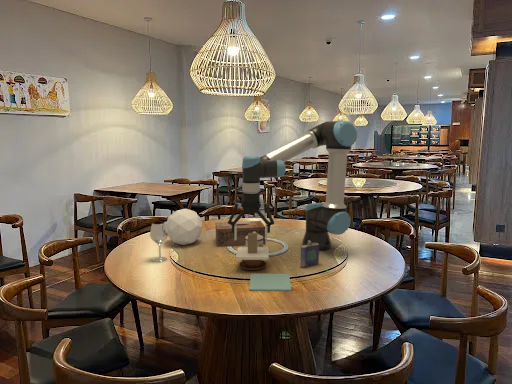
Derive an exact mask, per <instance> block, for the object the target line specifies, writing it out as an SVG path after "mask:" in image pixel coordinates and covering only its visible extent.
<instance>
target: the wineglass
mask: <svg viewBox="0 0 512 384" xmlns="http://www.w3.org/2000/svg"><path fill="white" fill-rule="evenodd" d="M149 237H150V239H151V240H152V241H153V242H154V243H156V244H157V245H158V256H157V257H155V258H153V260H152V261H153V262H155V263H163V262H166V261H167V260H168V257H165V256H162V253H161V252H162V250H161V245H162V244H163V242H165V241H166V240H167V239H168V237H169V236H168V231H167V228H166V222H165V221H153V222H152V223H151V227H150V232H149Z"/></svg>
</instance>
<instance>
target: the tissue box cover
mask: <svg viewBox="0 0 512 384" xmlns="http://www.w3.org/2000/svg"><path fill="white" fill-rule="evenodd" d="M235 225H237V239H236V240H234V233H232V225H230V224H228V221H225V222H224V221H223V222H215V241H216V246H217V248H225V247H226V248H227V247H246V239H245V237H246V236H248V233H252V232H256V233H257V234H259V235H262V236H263V238H264V239H263V246H264V245H266V225H265V223H263V221H261V220H250V221H249V220H246V221H237V223H236V224H235Z"/></svg>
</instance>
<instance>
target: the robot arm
mask: <svg viewBox="0 0 512 384" xmlns="http://www.w3.org/2000/svg"><path fill="white" fill-rule="evenodd" d="M357 137H358V131H357V129H356V127H355V126H354V123H352V122H350V121H348V120H333V121H331V120H330V121H324V122H322V123H319V124H318V125H315V126H314V127H311V128H310V129H308V130H307V131H305V133H304V134H303V135H301V136H299V137H297V138H295V139H293V140H291V141H289V142H286V143H285V144H284V145H282V146H280V147H278V148H275V149H274V150H272V151H269V152H268V153H266V154H264V155H262V156H258V155H256V156H255V155H254V156H253V155H252V156H251V155H249V156H248V155H246V156H244V157H243V158H242V163H241V165H242V166H241V168H242V169H241V171H242V182H241V183H242V187H241V188H242V189H241V190H242V196H241V199H242V202H236V203H235V205H234V209H233V211H232V213H231V214H230V217H229V219H228V221H227V222H228V224H230V225H232V233H234V240H236V239H237V225H235V224H236V223H237V222H239V220H240V219H241V218H242V217H243V216H244V215H245V214H247V215H250V214H252V215H253V214H254V215H255V214H257V215H258V216H259V217H260V218H261V220H262V222H264V224H265V242H267V241H268V234H270V232H271V226H273V225H274V224H275V221H274V219H273V217H272V215H271V212H270V210H269V208H268V204H267V202H264V203H261V202H260V201H261V198H260V197H261V194H260V191H261V188H260V187H261V186H260V185H261V179H265V178H266V179H268V178H271V179H273V178H282V177H284V176H285V174H286V169H287V168H286V167H287V166H286V164H285V163H286V162H288V161H290V160H292V159H294V158H295V157H297V156H299V155H302V154H303V153H305V152H306V151H309V150H310V149H315V150H316V149H317V148H318V147H322V146H325V149H326V150H325V151H327V152H328V163H327V165H328V166H327V177H326V178H327V179H326V181H327V182H326V190H325V191H326V193H325V195H326V196H325V202H314V203H307V205H306V206H305V231H304V235H303V239H302V242H301V246H304V245H308V242H307V241H308V240H310V241H311V243H318V244H319V251H327V250H329V249H331V248H332V241H331V238H330V234H332V235H337V236H339V235H343V234H344V233H345V232H346V231H348V229H349V228H350V225H351V222H352V221H351V216H350V214H349V213H348V212H347V208H348V207H347V205H346V204H345V191H346V174H347V162H348V154H349V152H351V150H352V146H354V144H355V142H356V141H357V139H358V138H357ZM240 207H241V208H242V210H241V212H240V213H239V214H238V215H237V217H235V215H236V213H237V211H238V209H240ZM261 207H262V209H264V211H265V214H266V215H267V217H266V216H265V215H264V214H263V213H262V212H261V210H260V209H261ZM234 217H235V219H234ZM267 218H268V219H269V220H268V219H267ZM233 219H234V220H233Z"/></svg>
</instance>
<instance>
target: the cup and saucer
mask: <svg viewBox="0 0 512 384" xmlns="http://www.w3.org/2000/svg"><path fill="white" fill-rule="evenodd" d="M239 266H240V267H241V268H242V269H243V270H248V271H259V270H262V269H264V268H266V266H267V262H266V260H241V261H240V262H239Z"/></svg>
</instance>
